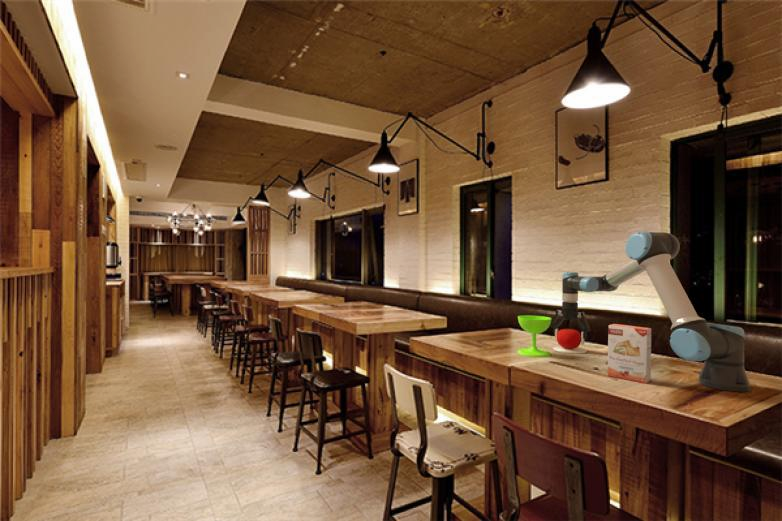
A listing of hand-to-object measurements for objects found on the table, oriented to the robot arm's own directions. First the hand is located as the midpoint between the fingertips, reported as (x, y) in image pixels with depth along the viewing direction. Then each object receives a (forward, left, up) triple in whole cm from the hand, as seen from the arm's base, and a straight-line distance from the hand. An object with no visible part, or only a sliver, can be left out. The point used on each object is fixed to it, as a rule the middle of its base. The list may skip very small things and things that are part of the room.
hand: (569, 342), depth 214 cm
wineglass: (-20, +11, -4) cm, 23 cm away
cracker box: (-38, -34, -4) cm, 51 cm away
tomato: (0, 0, -3) cm, 3 cm away
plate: (0, 0, -4) cm, 4 cm away
